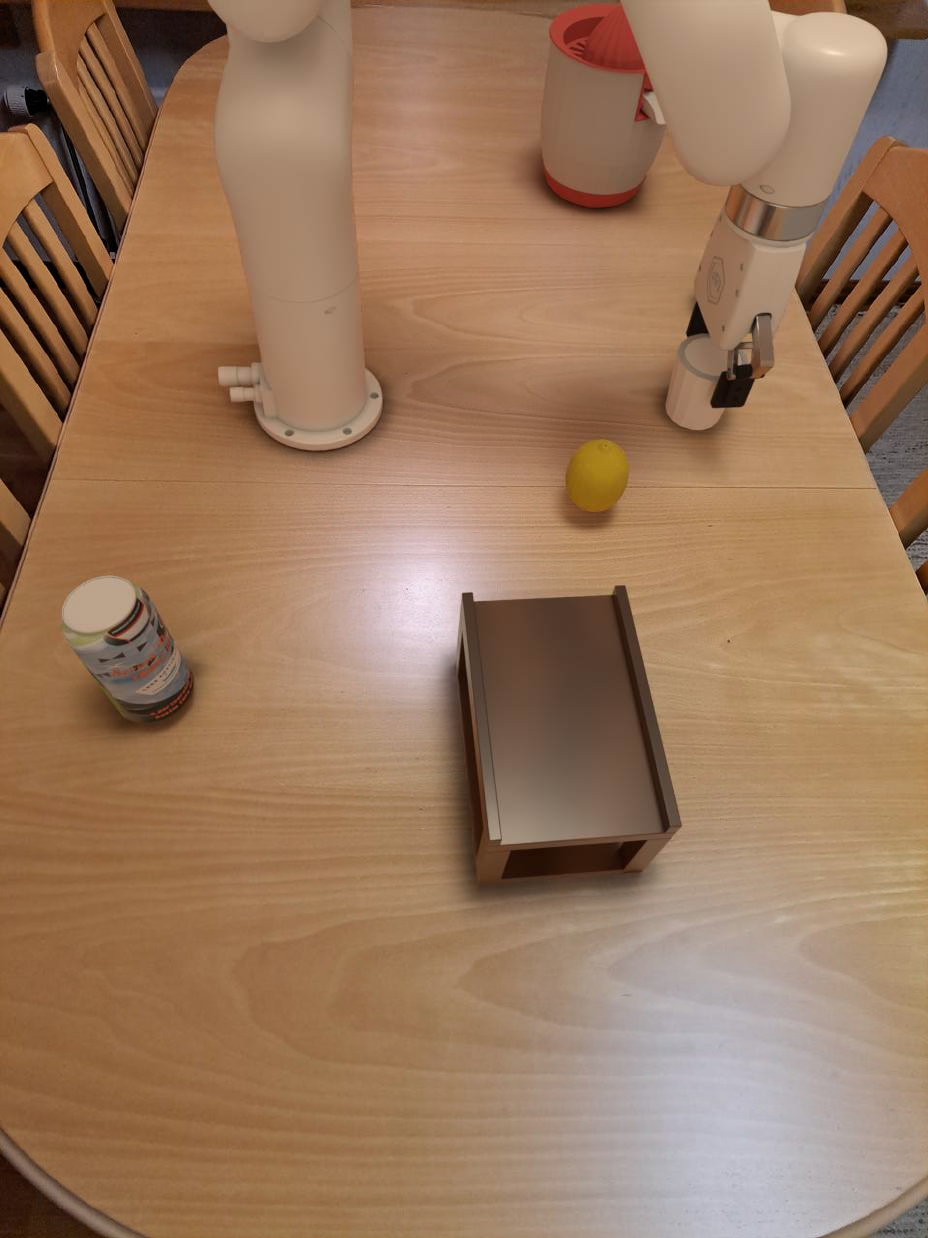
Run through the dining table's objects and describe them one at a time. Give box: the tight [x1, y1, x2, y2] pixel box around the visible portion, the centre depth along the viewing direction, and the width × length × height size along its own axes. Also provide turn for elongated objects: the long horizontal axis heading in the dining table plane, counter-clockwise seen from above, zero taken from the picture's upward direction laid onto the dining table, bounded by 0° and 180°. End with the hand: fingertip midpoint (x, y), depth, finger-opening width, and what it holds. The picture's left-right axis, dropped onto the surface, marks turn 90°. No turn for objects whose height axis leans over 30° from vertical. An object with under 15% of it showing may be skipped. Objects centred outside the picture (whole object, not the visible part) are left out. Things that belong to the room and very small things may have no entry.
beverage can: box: [61, 575, 195, 724], centre depth 60 cm, size 6×7×12 cm
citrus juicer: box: [539, 3, 667, 209], centre depth 97 cm, size 16×17×20 cm
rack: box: [454, 584, 683, 886], centre depth 59 cm, size 12×18×10 cm, turn 5°
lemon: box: [564, 438, 630, 513], centre depth 74 cm, size 6×6×8 cm
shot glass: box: [665, 334, 750, 431], centre depth 82 cm, size 7×7×7 cm
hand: (713, 370), depth 81 cm, fingers open, 9 cm apart
